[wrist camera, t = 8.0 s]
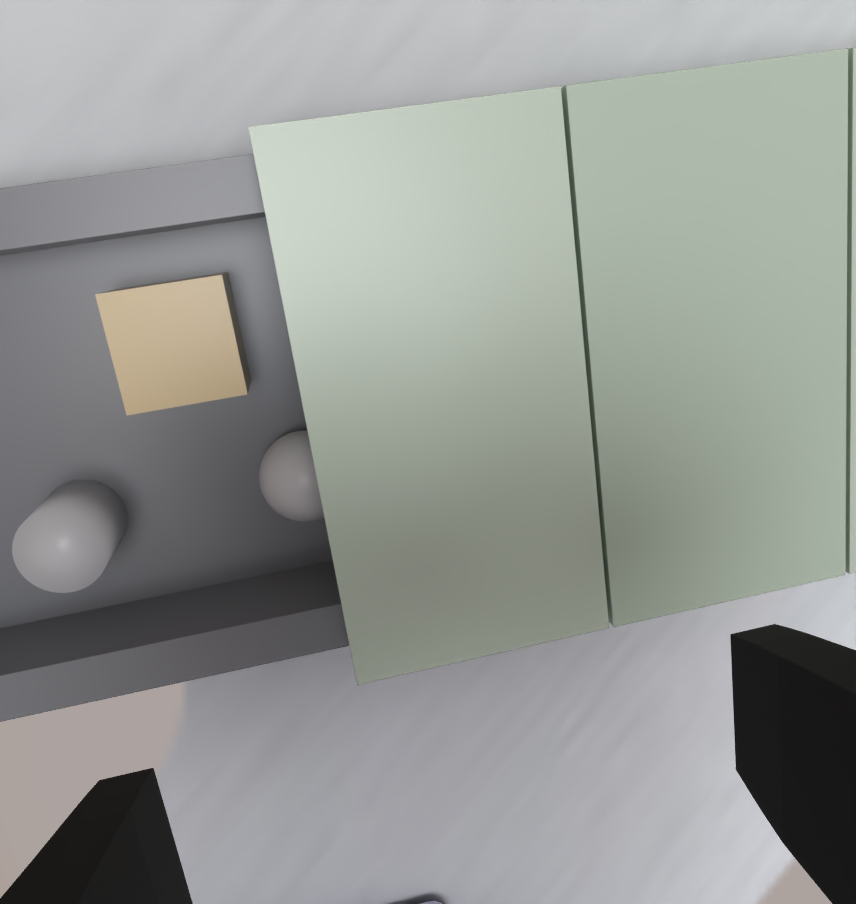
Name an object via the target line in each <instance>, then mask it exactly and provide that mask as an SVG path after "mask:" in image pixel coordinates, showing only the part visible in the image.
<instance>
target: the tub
mask: <svg viewBox="0 0 856 904" xmlns="http://www.w3.org/2000/svg"><path fill="white" fill-rule="evenodd" d="M345 646H349V640H348V635H347V630H346V625H345V620H344V615H343V610H342V605H341V599H340V594H339V589H338V584H337V579H336V574H335V569H334V564H333V558H332V553H331V548H330V543H329V538H328V533H327V528H326V523H325V517H324V512H323V507H322V502H321V497H320V492H319V487H318V482H317V476H316V471H315V466H314V461H313V456H312V451H311V446H310V441H309V435H308V430H307V425H306V420H305V415H304V410H303V405H302V400H301V394H300V389H299V384H298V379H297V374H296V369H295V364H294V359H293V353H292V348H291V343H290V338H289V333H288V328H287V323H286V318H285V312H284V307H283V302H282V297H281V292H280V287H279V282H278V277H277V271H276V266H275V261H274V256H273V251H272V246H271V241H270V236H269V231H268V225H267V220H266V215H265V210H264V205H263V200H262V195H261V190H260V184H259V179H258V174H257V169H256V164H255V159H254V154H250V155H243V156H235V157H228V158H221V159H213V160H206V161H199V162H191V163H184V164H177V165H169V166H162V167H155V168H147V169H140V170H133V171H125V172H118V173H110V174H103V175H96V176H88V177H81V178H74V179H66V180H59V181H52V182H44V183H37V184H30V185H22V186H15V187H7V188H0V722H1V721H6V720H10V719H15V718H20V717H24V716H29V715H34V714H38V713H43V712H47V711H52V710H56V709H61V708H66V707H70V706H75V705H79V704H84V703H88V702H93V701H98V700H102V699H107V698H111V697H116V696H121V695H125V694H130V693H134V692H139V691H143V690H148V689H152V688H157V687H161V686H166V685H170V684H175V683H180V682H185V681H189V680H194V679H198V678H203V677H207V676H212V675H217V674H221V673H226V672H230V671H235V670H240V669H244V668H249V667H253V666H258V665H262V664H267V663H272V662H276V661H281V660H285V659H290V658H294V657H299V656H304V655H308V654H313V653H317V652H322V651H326V650H331V649H336V648H340V647H345Z"/></svg>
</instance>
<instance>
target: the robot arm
mask: <svg viewBox="0 0 856 904" xmlns="http://www.w3.org/2000/svg"><path fill="white" fill-rule="evenodd" d="M731 657H732V681H733V705H734V730H735V754H736V770H737V772H738V774H739V775H740V777H741V778H742V780H743V782H744V783H745V785H746V787H747V788H748V790H749V791H750V793H751V795H752V796H753V798H754V799H755V801H756V803H757V804H758V806H759V807H760V809H761V811H762V812H763V814H764V815H765V817H766V818H767V820H768V821H769V823H770V824H771V826H772V827H773V829H774V830H775V832H776V833H777V835H778V836H779V838H780V839H781V841H782V842H783V843H784V845H785V846H786V847H787V848H788V850H789V851H790V852H791V853H792V855H793V856H794V857H795V858H796V860H797V861H798V862H799V863H800V865H801V866H802V867H803V868H804V869H805V871H806V872H807V873H808V874H809V876H810V877H811V878H812V879H813V880H814V882H815V883H816V884H817V885H818V887H819V888H820V889H821V890H822V891H823V893H824V894H825V895H826V896H827V897H828V899H829V900H830V901H831V902H832V904H856V650H853V649H850V648H847V647H844V646H842V645H839V644H836V643H833V642H830V641H827V640H825V639H822V638H819V637H816V636H813V635H810V634H807V633H804V632H801V631H797V630H794V629H791V628H787V627H783V626H780V625H776V624H774V625H769V626H765V627H761V628H756V629H752V630H748V631H743V632H739V633H735V634H731ZM0 904H192V900H191V897H190V893H189V890H188V886H187V883H186V879H185V876H184V872H183V869H182V865H181V862H180V859H179V855H178V852H177V848H176V845H175V841H174V838H173V834H172V831H171V827H170V824H169V820H168V817H167V814H166V810H165V807H164V803H163V800H162V796H161V793H160V789H159V786H158V782H157V779H156V775H155V772H154V769H153V768H150V769H146V770H142V771H138V772H133V773H129V774H125V775H120V776H116V777H112V778H107V779H103V780H99V781H98V782H97V784H96V785H95V786H94V787H93V788H92V789H91V790H90V791H89V792H88V794H87V795H86V796H85V797H84V798H83V800H82V801H81V802H80V803H79V804H78V806H77V807H76V808H75V809H74V810H73V812H72V813H71V814H70V815H69V816H68V818H67V819H66V820H65V821H64V823H63V824H62V825H61V826H60V827H59V829H58V830H57V831H56V832H55V834H54V835H53V836H52V837H51V838H50V840H49V841H48V842H47V843H46V844H45V846H44V847H43V848H42V849H41V851H40V852H39V853H38V854H37V856H36V857H35V858H34V859H33V860H32V862H31V863H30V864H29V865H28V866H27V868H26V869H25V870H24V871H23V872H22V873H21V875H20V876H19V877H18V878H17V879H16V881H15V882H14V883H13V884H12V885H11V887H10V888H9V889H8V890H7V891H6V892H5V894H4V895H3V896H2V897H1V898H0ZM420 904H442V903H441V902H438V901H428V902H424V903H420Z"/></svg>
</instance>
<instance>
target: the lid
mask: <svg viewBox="0 0 856 904" xmlns="http://www.w3.org/2000/svg"><path fill="white" fill-rule="evenodd" d="M248 128H249V133H250V138H251V143H252V149H253V154H254V159H255V164H256V169H257V174H258V179H259V184H260V190H261V195H262V200H263V205H264V210H265V215H266V220H267V225H268V231H269V236H270V241H271V246H272V251H273V256H274V261H275V266H276V271H277V277H278V282H279V287H280V292H281V297H282V302H283V307H284V312H285V318H286V323H287V328H288V333H289V338H290V343H291V348H292V353H293V359H294V364H295V369H296V374H297V379H298V384H299V389H300V394H301V400H302V405H303V410H304V415H305V420H306V425H307V430H308V435H309V441H310V446H311V451H312V456H313V461H314V466H315V471H316V476H317V482H318V487H319V492H320V497H321V502H322V507H323V512H324V517H325V523H326V528H327V533H328V538H329V543H330V548H331V553H332V558H333V564H334V569H335V574H336V579H337V584H338V589H339V594H340V599H341V605H342V610H343V615H344V620H345V625H346V630H347V635H348V640H349V646H350V651H351V656H352V661H353V666H354V671H355V676H356V681H357V685H359V684H363V683H368V682H372V681H376V680H381V679H385V678H390V677H394V676H399V675H403V674H408V673H412V672H416V671H421V670H425V669H430V668H434V667H439V666H443V665H447V664H452V663H456V662H461V661H465V660H470V659H474V658H479V657H483V656H487V655H492V654H496V653H501V652H505V651H510V650H514V649H519V648H523V647H527V646H532V645H536V644H541V643H545V642H550V641H554V640H559V639H563V638H567V637H572V636H576V635H581V634H585V633H590V632H594V631H598V630H603V629H607V628H609V622H610V623H611V624H612V626H613V627H616V626H621V625H625V624H630V623H634V622H638V621H643V620H647V619H652V618H656V617H661V616H665V615H670V614H674V613H678V612H683V611H687V610H692V609H696V608H701V607H705V606H709V605H714V604H718V603H723V602H727V601H732V600H736V599H741V598H745V597H749V596H754V595H758V594H763V593H767V592H772V591H776V590H781V589H785V588H789V587H794V586H798V585H803V584H807V583H812V582H816V581H820V580H825V579H829V578H834V577H838V576H843V575H845V572H847V573H849V574H852V573H856V47H854V48H851V49H848V48H846V49H839V50H831V51H823V52H816V53H808V54H801V55H793V56H785V57H778V58H770V59H763V60H755V61H747V62H740V63H732V64H725V65H717V66H709V67H702V68H694V69H687V70H679V71H671V72H664V73H656V74H649V75H641V76H633V77H626V78H618V79H611V80H603V81H595V82H588V83H580V84H573V85H566V86H564V87H562V88H561V86H557V87H550V88H542V89H535V90H527V91H519V92H512V93H504V94H497V95H489V96H481V97H474V98H466V99H459V100H451V101H443V102H436V103H428V104H421V105H413V106H405V107H398V108H390V109H383V110H375V111H367V112H360V113H352V114H344V115H337V116H329V117H322V118H314V119H306V120H299V121H291V122H284V123H276V124H268V125H261V126H253V127H248Z"/></svg>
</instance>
